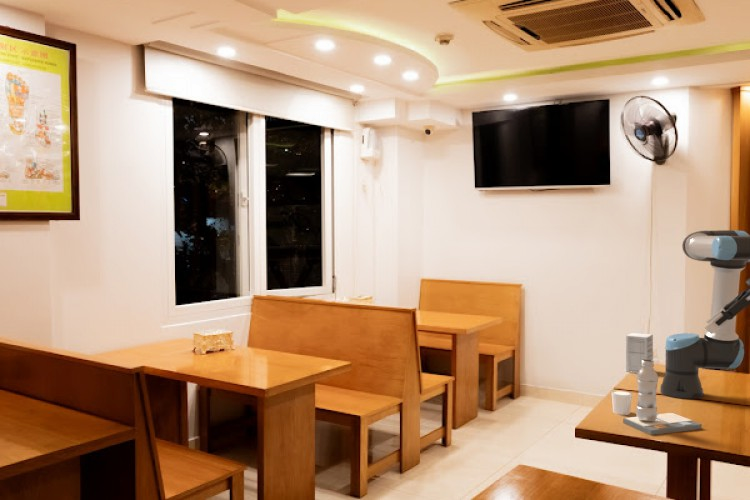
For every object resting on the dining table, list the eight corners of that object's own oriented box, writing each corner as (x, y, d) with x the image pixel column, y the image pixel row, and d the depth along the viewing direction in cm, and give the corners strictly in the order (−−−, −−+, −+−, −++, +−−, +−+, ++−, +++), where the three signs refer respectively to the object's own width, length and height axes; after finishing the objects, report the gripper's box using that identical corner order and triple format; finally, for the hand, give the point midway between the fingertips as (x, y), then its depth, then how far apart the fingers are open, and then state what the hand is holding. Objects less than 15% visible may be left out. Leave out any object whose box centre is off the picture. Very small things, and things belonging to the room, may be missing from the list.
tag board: (671, 417, 218) (671, 412, 218) (701, 428, 206) (701, 423, 205) (623, 422, 212) (623, 417, 212) (650, 435, 200) (650, 429, 200)
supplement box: (653, 371, 286) (654, 334, 286) (647, 375, 279) (648, 337, 279) (631, 368, 292) (632, 332, 292) (625, 372, 285) (625, 334, 285)
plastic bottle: (631, 418, 211) (632, 358, 211) (651, 417, 212) (652, 358, 211) (641, 424, 205) (642, 362, 204) (661, 423, 206) (662, 362, 205)
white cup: (633, 415, 220) (633, 396, 220) (612, 414, 221) (613, 395, 221) (629, 410, 226) (630, 390, 226) (609, 409, 228) (609, 390, 228)
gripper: (777, 295, 180) (717, 343, 188) (773, 287, 202) (719, 330, 210) (756, 276, 182) (697, 324, 191) (754, 270, 204) (701, 313, 212)
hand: (708, 327), depth 200 cm, fingers open, 13 cm apart
